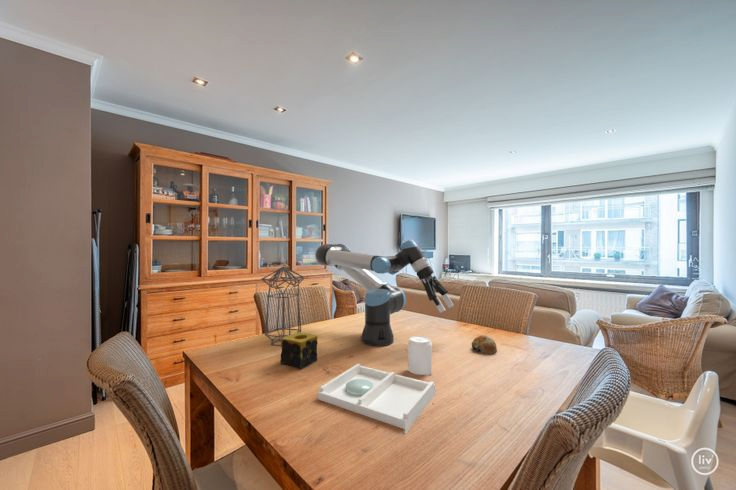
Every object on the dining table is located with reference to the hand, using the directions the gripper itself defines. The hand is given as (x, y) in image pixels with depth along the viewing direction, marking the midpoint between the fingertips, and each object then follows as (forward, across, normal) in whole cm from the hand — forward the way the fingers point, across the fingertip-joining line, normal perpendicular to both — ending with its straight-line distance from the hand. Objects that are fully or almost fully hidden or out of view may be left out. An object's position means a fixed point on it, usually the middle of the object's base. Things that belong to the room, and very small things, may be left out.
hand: (447, 309), depth 136 cm
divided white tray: (+12, -58, +13) cm, 60 cm away
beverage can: (+14, -35, +9) cm, 39 cm away
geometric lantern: (-23, -35, +64) cm, 76 cm away
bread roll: (+22, +1, -4) cm, 22 cm away
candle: (-10, -49, +45) cm, 68 cm away
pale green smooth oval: (+8, -58, +18) cm, 61 cm away
